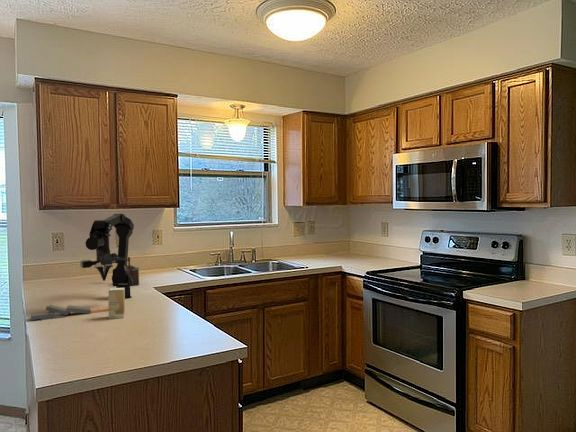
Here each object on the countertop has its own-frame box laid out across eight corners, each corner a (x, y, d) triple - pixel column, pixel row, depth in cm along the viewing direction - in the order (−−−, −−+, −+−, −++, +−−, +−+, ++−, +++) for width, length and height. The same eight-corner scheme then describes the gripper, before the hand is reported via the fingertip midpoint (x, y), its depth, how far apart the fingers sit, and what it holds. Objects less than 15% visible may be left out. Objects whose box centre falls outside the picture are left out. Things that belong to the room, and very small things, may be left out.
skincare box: (108, 319, 187) (107, 290, 186) (109, 316, 191) (108, 288, 190) (124, 317, 188) (123, 289, 188) (125, 315, 193) (124, 287, 192)
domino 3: (64, 313, 195) (41, 316, 191) (64, 316, 190) (40, 319, 186) (64, 317, 195) (41, 320, 191) (64, 319, 190) (40, 322, 186)
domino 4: (89, 307, 201) (67, 305, 196) (90, 310, 196) (68, 307, 192) (88, 311, 201) (66, 309, 196) (89, 313, 196) (67, 311, 192)
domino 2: (71, 310, 197) (50, 304, 195) (68, 311, 192) (46, 306, 190) (70, 313, 196) (49, 308, 195) (67, 315, 192) (45, 310, 190)
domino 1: (54, 310, 194) (30, 313, 189) (55, 313, 189) (31, 316, 185) (54, 314, 194) (30, 317, 189) (55, 316, 190) (31, 320, 185)
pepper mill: (139, 282, 270) (139, 252, 270) (138, 285, 260) (137, 255, 259) (112, 283, 266) (111, 254, 266) (110, 287, 256) (109, 256, 255)
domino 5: (111, 306, 205) (89, 308, 201) (112, 308, 201) (90, 310, 197) (111, 309, 205) (90, 312, 201) (112, 311, 201) (90, 314, 197)
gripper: (84, 250, 194) (86, 286, 195) (128, 247, 205) (129, 280, 205) (79, 248, 203) (80, 282, 204) (121, 244, 214) (122, 277, 214)
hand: (104, 280), depth 207 cm, fingers closed
